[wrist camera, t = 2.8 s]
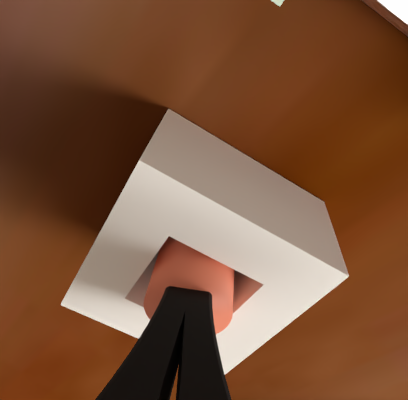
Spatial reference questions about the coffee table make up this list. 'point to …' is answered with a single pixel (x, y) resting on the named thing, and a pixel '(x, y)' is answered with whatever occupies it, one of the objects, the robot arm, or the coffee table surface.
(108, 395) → the robot arm
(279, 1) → the block
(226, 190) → the box
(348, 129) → the coffee table surface
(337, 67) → the coffee table surface
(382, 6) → the slide rail
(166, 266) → the plunger
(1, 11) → the coffee table surface
